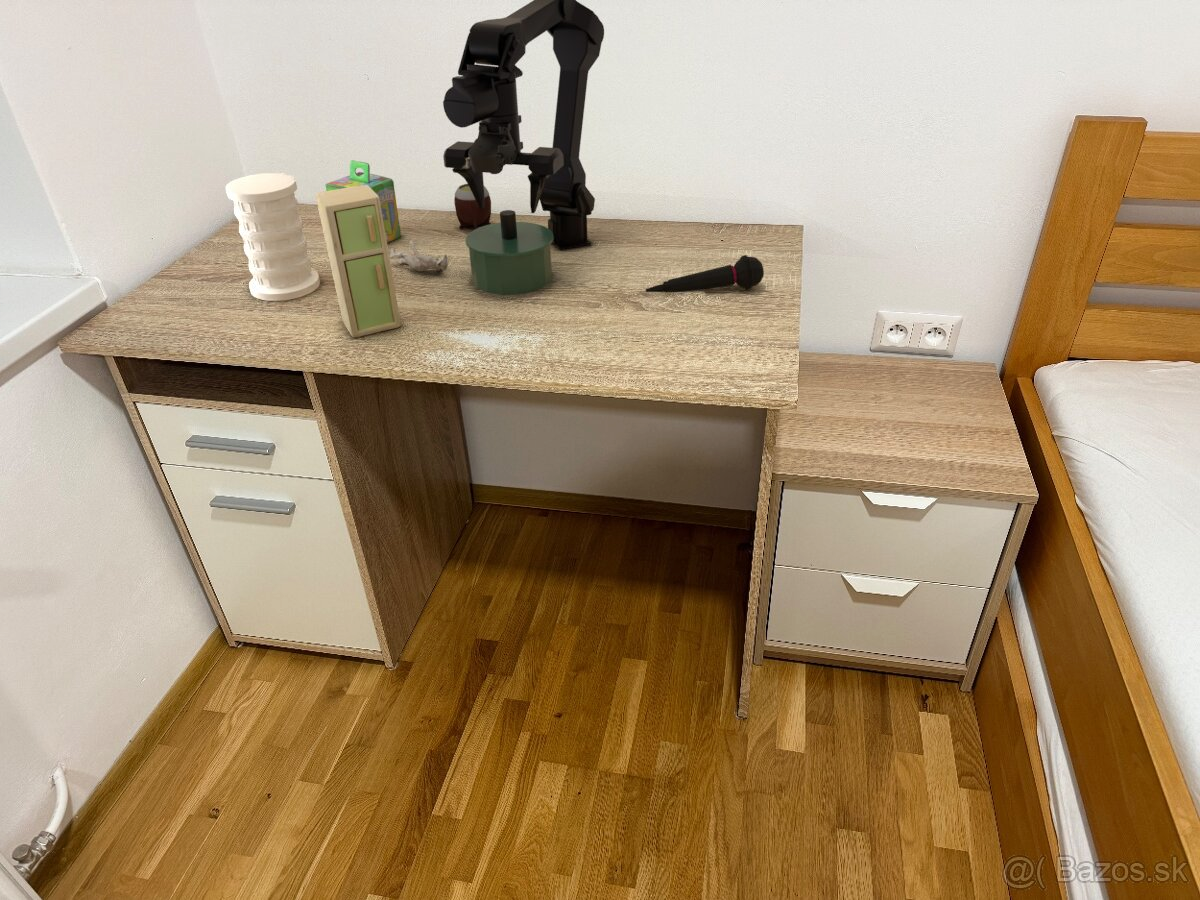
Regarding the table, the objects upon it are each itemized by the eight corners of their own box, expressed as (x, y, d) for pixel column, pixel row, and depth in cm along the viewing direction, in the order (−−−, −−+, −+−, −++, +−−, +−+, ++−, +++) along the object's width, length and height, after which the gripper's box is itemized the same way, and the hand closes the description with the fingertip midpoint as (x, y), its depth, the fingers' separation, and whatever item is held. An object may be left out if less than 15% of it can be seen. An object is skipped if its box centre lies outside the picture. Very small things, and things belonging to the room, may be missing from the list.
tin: (534, 260, 158) (532, 220, 153) (564, 288, 147) (562, 246, 143) (463, 274, 153) (458, 233, 149) (488, 303, 143) (484, 261, 138)
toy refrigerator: (352, 341, 133) (325, 207, 121) (341, 322, 138) (314, 192, 126) (403, 329, 136) (381, 197, 124) (390, 311, 141) (368, 183, 129)
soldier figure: (415, 262, 160) (463, 252, 154) (410, 286, 159) (459, 277, 153) (384, 242, 154) (433, 232, 148) (379, 267, 153) (428, 258, 146)
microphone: (650, 314, 145) (766, 293, 145) (648, 289, 141) (768, 267, 141) (644, 292, 148) (757, 271, 149) (642, 267, 144) (759, 245, 144)
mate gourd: (455, 222, 174) (447, 147, 166) (494, 219, 176) (488, 143, 167) (459, 235, 168) (451, 157, 160) (499, 231, 170) (493, 154, 161)
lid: (534, 222, 154) (532, 192, 151) (567, 250, 143) (566, 219, 140) (454, 236, 149) (451, 206, 146) (482, 266, 138) (479, 234, 135)
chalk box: (334, 243, 166) (319, 166, 157) (368, 228, 172) (355, 153, 164) (369, 252, 162) (355, 173, 153) (403, 237, 168) (391, 160, 160)
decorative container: (278, 270, 156) (254, 169, 146) (333, 277, 153) (312, 175, 142) (236, 295, 147) (207, 191, 137) (293, 304, 144) (268, 198, 133)
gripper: (422, 121, 130) (435, 222, 139) (538, 129, 126) (544, 232, 135) (453, 104, 139) (463, 200, 148) (562, 110, 135) (566, 208, 144)
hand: (507, 210), depth 143 cm, fingers open, 9 cm apart
